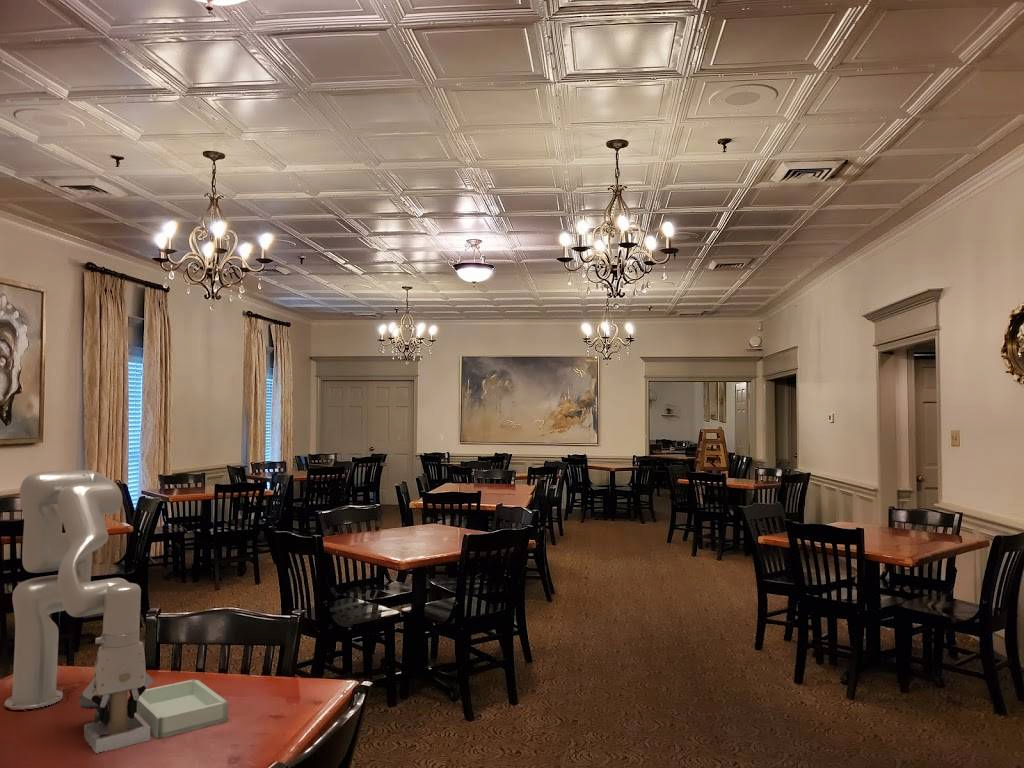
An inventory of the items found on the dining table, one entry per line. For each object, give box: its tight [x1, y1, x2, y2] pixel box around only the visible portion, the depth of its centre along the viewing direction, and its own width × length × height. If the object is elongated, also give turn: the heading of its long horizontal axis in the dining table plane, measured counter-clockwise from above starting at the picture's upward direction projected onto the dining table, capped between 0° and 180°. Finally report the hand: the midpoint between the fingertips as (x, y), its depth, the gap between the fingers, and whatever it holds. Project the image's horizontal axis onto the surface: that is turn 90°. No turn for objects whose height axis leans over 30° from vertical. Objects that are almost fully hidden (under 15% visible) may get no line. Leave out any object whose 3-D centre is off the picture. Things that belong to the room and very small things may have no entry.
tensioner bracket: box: [78, 689, 151, 754], centre depth 173 cm, size 21×11×8 cm, turn 42°
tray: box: [136, 678, 229, 740], centre depth 183 cm, size 22×16×4 cm
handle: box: [108, 674, 131, 735], centre depth 170 cm, size 5×6×15 cm
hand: (117, 719), depth 170 cm, fingers open, 4 cm apart
